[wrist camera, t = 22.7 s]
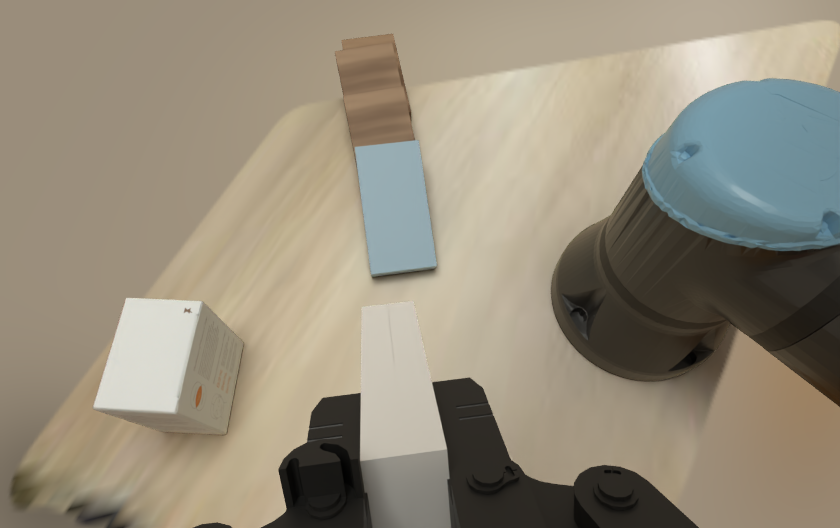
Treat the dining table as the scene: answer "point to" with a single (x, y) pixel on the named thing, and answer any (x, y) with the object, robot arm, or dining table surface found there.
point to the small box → (171, 367)
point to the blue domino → (395, 208)
